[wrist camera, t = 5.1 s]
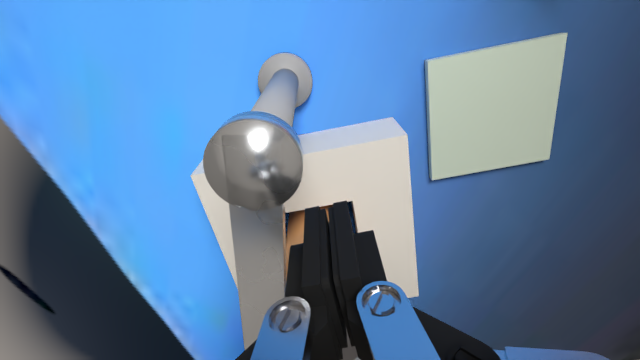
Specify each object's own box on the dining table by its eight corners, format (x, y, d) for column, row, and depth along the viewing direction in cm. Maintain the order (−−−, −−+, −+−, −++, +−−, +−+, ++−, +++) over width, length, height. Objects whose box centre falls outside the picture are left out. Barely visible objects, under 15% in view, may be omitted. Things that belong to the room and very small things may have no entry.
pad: (561, 32, 21) (567, 32, 21) (544, 156, 25) (549, 159, 25) (424, 60, 22) (427, 61, 21) (429, 177, 26) (432, 180, 25)
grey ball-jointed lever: (207, 109, 9) (180, 134, 7) (303, 112, 9) (302, 136, 8) (243, 400, 16) (234, 454, 14) (300, 399, 16) (299, 453, 14)
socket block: (384, 31, 21) (482, 48, 9) (405, 262, 30) (469, 423, 18) (178, 74, 22) (23, 140, 10) (258, 287, 31) (226, 456, 19)
